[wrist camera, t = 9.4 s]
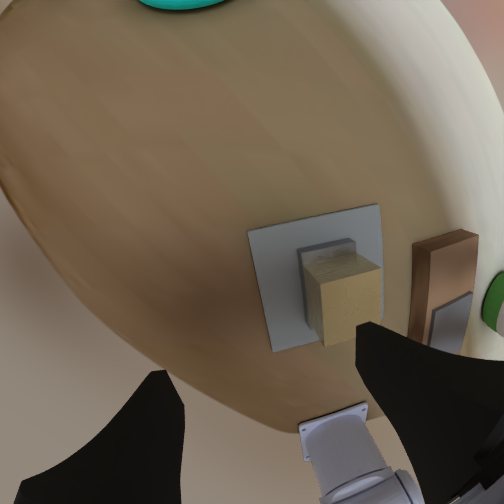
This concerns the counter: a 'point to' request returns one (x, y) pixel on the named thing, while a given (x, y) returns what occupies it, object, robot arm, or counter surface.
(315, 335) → the slate mat
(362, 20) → the counter surface
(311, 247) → the tan small block
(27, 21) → the counter surface
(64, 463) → the robot arm
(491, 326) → the wine bottle
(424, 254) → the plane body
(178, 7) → the turquoise yoyo
